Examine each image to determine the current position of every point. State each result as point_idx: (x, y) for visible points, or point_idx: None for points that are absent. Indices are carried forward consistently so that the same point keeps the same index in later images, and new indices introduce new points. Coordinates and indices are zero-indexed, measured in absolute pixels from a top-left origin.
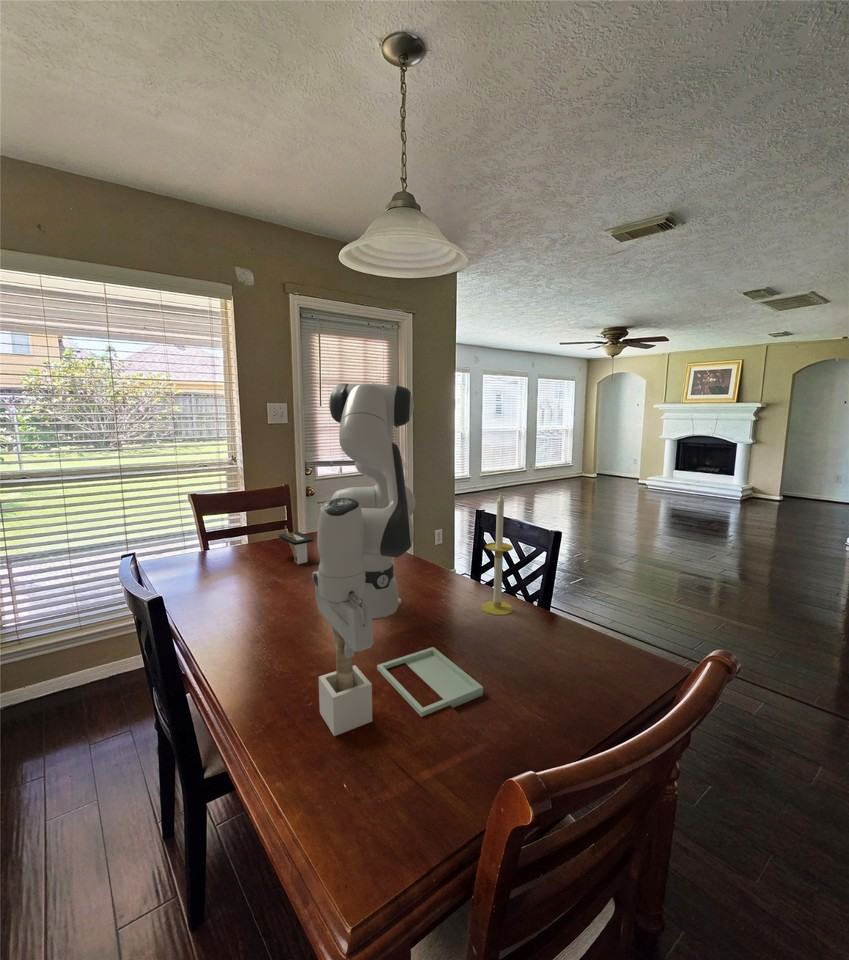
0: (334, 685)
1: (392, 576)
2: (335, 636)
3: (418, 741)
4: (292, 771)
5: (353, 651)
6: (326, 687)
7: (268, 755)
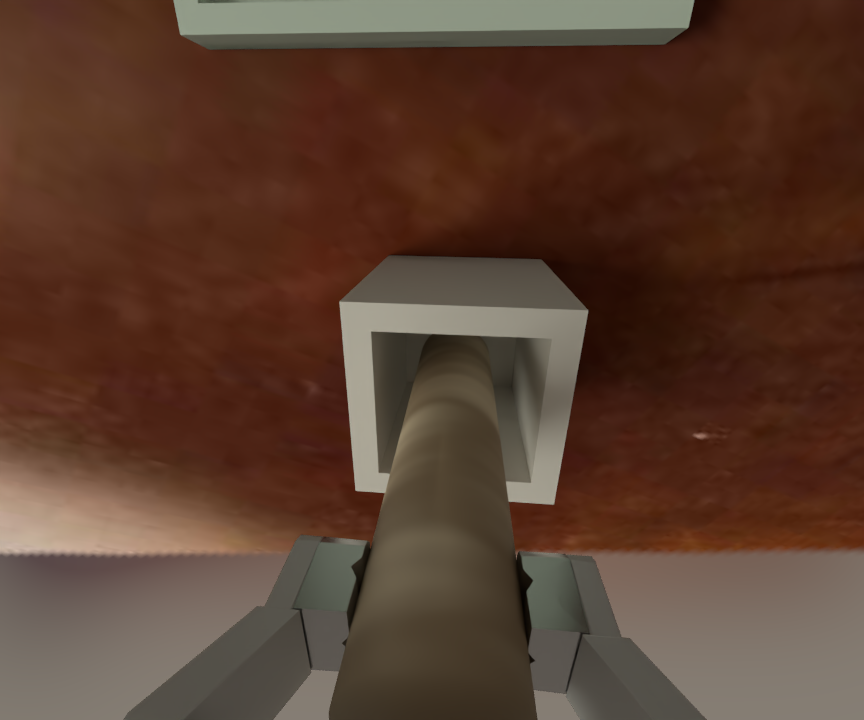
0: (387, 400)
1: None
2: (302, 679)
3: (749, 138)
4: (556, 509)
5: (604, 597)
6: None
7: None
